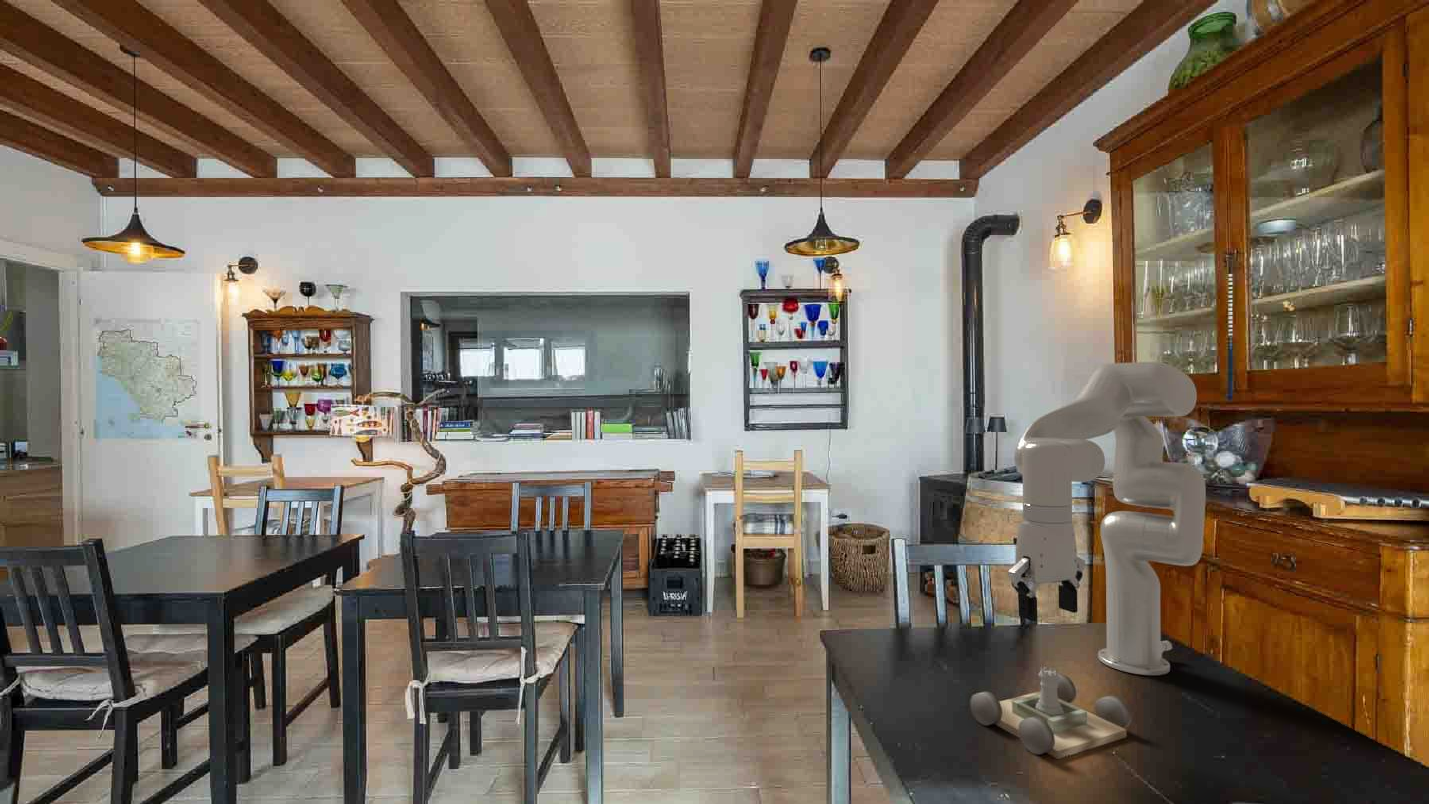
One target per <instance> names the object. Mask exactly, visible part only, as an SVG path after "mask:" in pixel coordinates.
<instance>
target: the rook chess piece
mask: <svg viewBox="0 0 1429 804" xmlns="http://www.w3.org/2000/svg"><path fill="white" fill-rule="evenodd" d="M1058 674H1059V673H1058V671H1057V670H1056V669H1053V667H1049V670H1048V667H1046V666H1045V667H1040V672H1039V673H1038V674H1037V675H1038V677H1039V678H1040V682H1039V685H1040V686H1041V688H1040V691H1041V695H1040V699H1039V700H1038V703H1037V704H1036V706H1035V708H1036V710H1038V711H1040V712H1042V713H1044V714H1046V715H1048V716H1050V717H1056V716H1059V715H1062V714H1063V713H1064V711H1063V708H1062V707H1061V704H1060V703H1059V701H1058V695H1057V688H1058V685H1057V681H1058V680H1059V678H1060V677H1059V676H1058Z"/></svg>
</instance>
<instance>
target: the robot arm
mask: <svg viewBox="0 0 1429 804" xmlns="http://www.w3.org/2000/svg"><path fill="white" fill-rule="evenodd" d="M1197 395H1198V394H1197V389H1196V386H1195V383H1194V381H1193V380H1192V378H1191V377H1190V376H1189V375H1187V374H1185V373H1184V372H1183V371H1181V370H1179V369H1178V368H1176V367H1174V366H1173V365H1170V364H1168V363H1164V362H1161V361H1139V362H1138V361H1135V362H1117V363H1116V362H1113V363H1109V364H1108V363H1107V364H1104V365H1102V366H1100V367H1098V368H1096V369H1095V370H1094V371H1093V373H1092V374H1091V375H1090V377H1089V378H1088V380H1087V381H1086V382H1085V384H1084V385H1083V387H1082V389H1081V390H1080V392H1079V393H1078V395H1077V396H1076V398H1075V399H1074V401H1073V402H1070V403H1067V404H1064V405H1062V406H1060V407H1059V408H1056V409H1054V410H1053V411H1050V412H1048V413H1046V414H1044V415H1043V416H1040V417H1038V418H1037V419H1036V420H1034V421H1033V422H1032V423H1031V424H1030V425H1029V426H1028V427H1027V429H1026V430H1025V431H1024V433H1023V435H1022V436H1021V437H1020V439H1019V440H1018V443H1017V445H1016V447H1015V451H1014V457H1013V459H1014V460H1013V461H1014V465H1015V467H1016V469H1017V471H1018V473H1020V474H1021V475H1022V521H1021V522H1019V527H1018V531H1017V537H1016V547H1015V560H1014V561H1015V563H1014V565H1013V566H1012V567H1011V568H1010V569H1009V570H1008V572H1007V574H1008V577H1009V579H1010V582H1011V586H1012V587H1013V588H1014V591H1015V593H1016V594H1017V595H1018V617H1020V618H1023V619H1025V620H1029V621H1031V622H1036V621H1038V597H1036V596H1035V595H1036V592H1037V590H1038V588H1039V586H1040V585H1041V586H1043V585H1050V584H1053V583H1055V584H1056V583H1060V584H1059V585H1058V608H1059V609H1060V610H1063V611H1067V612H1070V613H1073V614H1075V613H1076V614H1077V613H1078V612H1079V610H1078V589H1080V586H1081V585H1080V581H1081V579H1082V578H1083V574H1084V573H1083V572H1084V569H1085V566H1086V560H1084V559H1083V558H1081V557H1079V556H1078V551H1077V541H1076V534H1075V528H1074V522H1073V485H1072V483H1088V482H1091V481H1094V480H1096V479H1098V477H1099V476H1100V475H1101V474H1102V473H1103V472H1104V471H1103V470H1104V469H1105V466H1106V465H1105V464H1106V458H1105V457H1106V456H1105V454H1104V451H1103V449H1102V448H1101V447H1100V445H1098V443H1096V442H1094V441H1091V439H1095V438H1098V437H1101V436H1105V435H1108V434H1110V433H1111V432H1113V433H1114V436H1115V450H1114V451H1115V452H1114V461H1113V462H1114V463H1113V476H1112V477H1113V478H1112V491H1113V495H1114V497H1115V498H1116V500H1117V501H1119V502H1120V503H1123V504H1124V505H1125V504H1127V505H1131V506H1138V507H1146V508H1147V507H1148V508H1156V509H1165V510H1166V509H1167V510H1171V511H1173V512H1172V513H1173V516H1172V515H1165V514H1155V513H1154V514H1153V513H1150V512H1149V513H1148V512H1138V511H1132V510H1131V511H1129V510H1127V511H1126V510H1119V511H1118V510H1117V511H1113V512H1109V513H1108V514H1106V515H1105V516H1104V518H1103V519H1102V520H1101V523H1100V528H1099V529H1100V539H1101V544H1102V549H1103V553H1104V562H1105V563H1104V564H1105V585H1106V586H1105V587H1106V588H1105V591H1106V592H1105V593H1106V594H1105V595H1106V596H1105V597H1106V599H1105V601H1106V602H1105V604H1106V607H1105V609H1106V612H1105V613H1106V618H1105V619H1106V622H1105V623H1106V647H1105V648H1102V649H1100V650H1099V651H1098V652H1097V653H1098V654H1097V656H1098V660H1099V661H1100V662H1101V663H1103V664H1104V665H1106V666H1108V667H1110V668H1112V669H1116V670H1118V671H1121V672H1126V673H1129V674H1134V675H1142V676H1162V675H1166V674H1168V673H1169V672H1170V671H1171V664H1170V663H1169V661H1168V660H1167V659H1166V658H1164V657H1163V654H1164V652H1165V651H1166V652H1167V651H1170V650H1172V649H1173V644H1172V642H1170V641H1169V640H1162V641H1161V583H1160V582H1161V581H1160V579H1159V577H1158V575H1157V572H1156V571H1155V570H1154V568H1153V567H1152V566H1151V564H1150V563H1149V562H1155V563H1156V562H1157V563H1162V564H1166V565H1167V564H1169V565H1174V566H1180V567H1181V566H1182V567H1189V566H1190V567H1191V566H1194V565H1197V563H1198V562H1199V561H1200V559H1201V557H1202V552H1203V547H1204V532H1205V531H1204V530H1205V512H1206V494H1207V493H1206V492H1207V491H1206V488H1207V487H1206V482H1205V478H1204V475H1203V473H1202V471H1201V470H1200V469H1199V468H1198V467H1197V466H1195V465H1193V464H1191V463H1190V464H1189V463H1183V462H1169V461H1164V460H1163V457H1164V438H1163V435H1162V433H1161V432H1160V431H1159V430H1158V429H1157V426H1156V425H1155V424H1154V423H1152V421H1150V420H1149V419H1148V418H1147V417H1168V418H1170V417H1172V418H1173V417H1174V418H1177V417H1184V416H1185V417H1186V416H1187V415H1188V414H1190V413H1191V412H1192V411H1193V410H1194V408H1195V407H1196V405H1197V404H1196V403H1197V398H1198V397H1197ZM1028 583H1029V584H1030V585H1029V587H1028Z"/></svg>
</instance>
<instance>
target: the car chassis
mask: <svg viewBox="0 0 1429 804" xmlns="http://www.w3.org/2000/svg"><path fill="white" fill-rule="evenodd" d="M1057 674H1058V676H1059V677H1060V678H1059V680H1058V681H1057V685H1058V688H1057V695H1058V701H1059V703H1060V704H1061V707H1062V708H1063V711H1064V713H1063V714H1062V715H1059V716H1056V717H1050V716H1048V715H1046V714H1044V713H1042V712H1040V711H1038V710H1036V708H1035V706H1036V704H1037V703H1038V700H1039V699H1040V695H1041V690H1039V691H1035V692H1032V693H1028V694H1023V695H1020V696H1016V697H1012V698H1009V699H1005V700H1000V701H999V699H998V698H997V697H996V695H994V694H993V693H992V692H990V691H982V692H977V693H975V694H973V695H972V696H971V697H970V701H969V702H970V704H969V705H970V709H971V712H972V715H973V717H974V719H975V720H976V721H977V722H978V723H980V725H983V726H990V725H996V726H997V727H999V728H1001V729H1003V730H1004V731H1006V732H1008V733H1009V734H1012V735H1013V736H1015V737H1017V738H1019V739H1020V741H1021V743H1022V745H1023V746H1024V747H1025V749H1026V750H1027V751H1029V752H1030V753H1032V754H1034V755H1042V754H1045V753H1046V754H1048V755H1049V756H1051V755H1052V756H1051V757H1053V756H1054V757H1053V758H1055V759H1057V760H1059V759H1063V758H1065V756H1066V757H1069V756H1072V755H1075V754H1079V753H1081V752H1085V751H1088V750H1091V749H1094V748H1097V747H1101V746H1103V745H1107V744H1109V743H1112V742H1113V743H1114V742H1115V741H1118V740H1121V739H1125V738H1127V736H1128V735H1127V734H1128V733H1127V731H1128V730H1127V729H1126V728H1127V727H1129V726H1130V725H1131V722H1132V713H1131V709H1130V708H1129V706H1128V705H1127V703H1126V702H1125V701H1124V700H1123V699H1122V698H1120V697H1118V696H1117V695H1116V696H1115V695H1107V696H1103V697H1100V698H1098V699H1097V700H1096V701H1095V704H1094V711H1095V714H1093V713H1091V712H1089V711H1087V710H1085V709H1083V708H1080V707H1078V706H1076V705H1073V704H1072V703H1073V702H1074V701H1075V699H1076V697H1077V689H1076V687H1075V686H1076V685H1074V682H1073V681H1072V679H1070V677H1068V675H1065V674H1063V673H1057ZM1078 752H1079V753H1078ZM1068 755H1069V756H1068ZM1062 757H1063V758H1062Z"/></svg>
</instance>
